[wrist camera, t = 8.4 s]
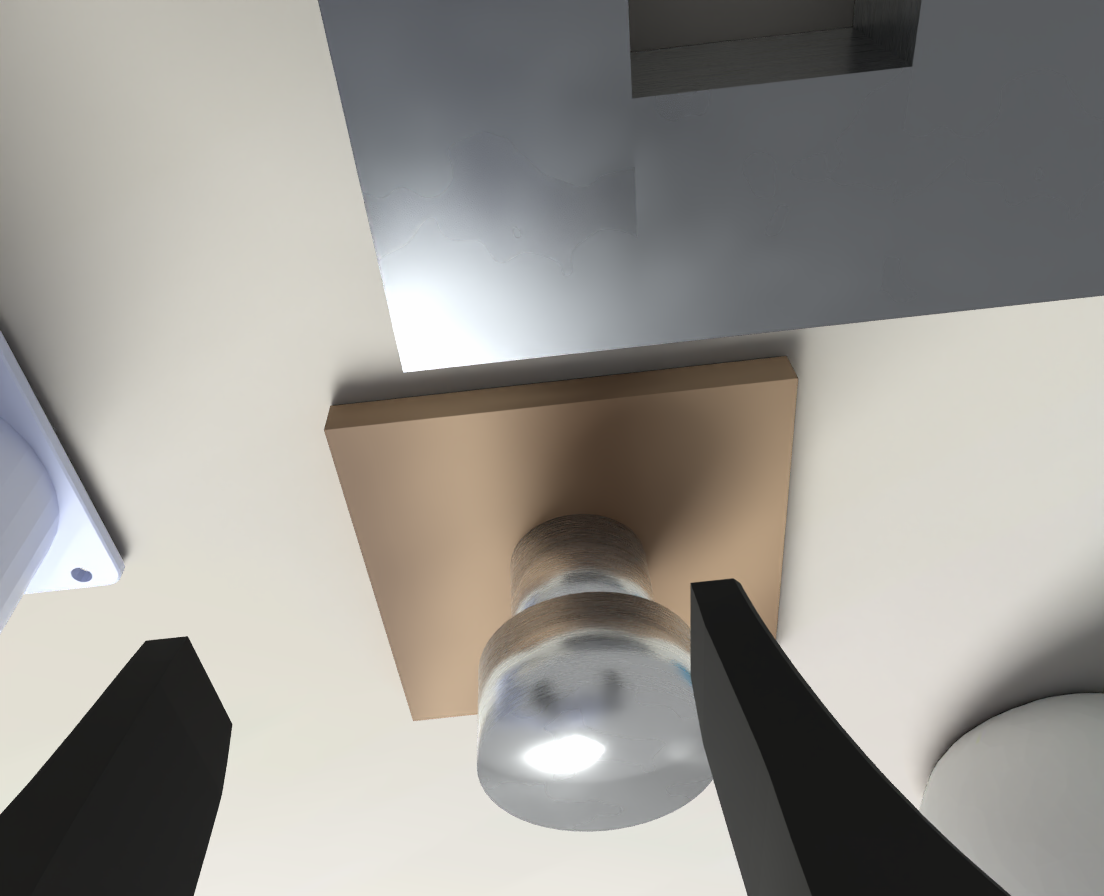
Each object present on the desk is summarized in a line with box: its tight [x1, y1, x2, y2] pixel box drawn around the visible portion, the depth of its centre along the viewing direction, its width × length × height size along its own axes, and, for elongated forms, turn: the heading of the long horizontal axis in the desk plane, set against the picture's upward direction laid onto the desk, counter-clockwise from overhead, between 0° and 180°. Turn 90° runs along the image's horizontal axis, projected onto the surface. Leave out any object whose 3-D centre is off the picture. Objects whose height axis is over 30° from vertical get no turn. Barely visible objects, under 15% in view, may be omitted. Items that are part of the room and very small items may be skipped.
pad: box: [324, 356, 798, 721], centre depth 24 cm, size 11×11×1 cm
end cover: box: [477, 514, 713, 831], centre depth 21 cm, size 5×5×6 cm
